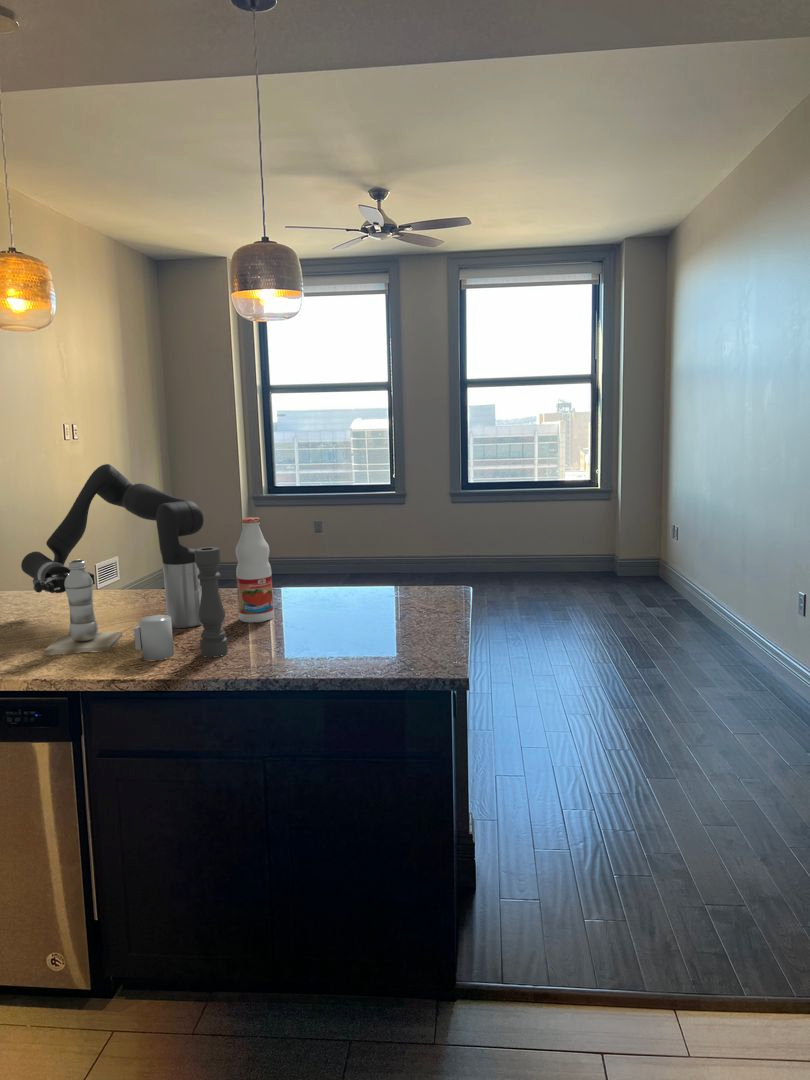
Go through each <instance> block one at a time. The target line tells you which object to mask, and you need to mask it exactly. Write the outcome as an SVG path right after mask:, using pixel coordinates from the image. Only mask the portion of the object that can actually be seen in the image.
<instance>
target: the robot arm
mask: <svg viewBox="0 0 810 1080" xmlns="http://www.w3.org/2000/svg"><path fill="white" fill-rule="evenodd" d="M96 495H97V496H99V497H100V498H101V499H102V500H103V501H105V502H107V503H108V504H111V505H113V506H117V507H121V508H124V509H125V510H126V511H128V512H129V513H131V514H133V515H135V516H137V517H138V518H141V519H144V520H147V521H155V523H156V528H157V536H158V542H159V543H158V545H159V552H160V554H161V555H160V556H161V560H162V569H163V585H164V595H165V596H164V598H165V606H166V607H165V608H166V609H165V610H166V615H167V616H170V617H171V623H172V629H173V628H175V629H178V628H180V629H182V628H183V629H185V628H190V627H195V626H203V624H202V623H201V622H200V620H199V616H198V614H199V608H200V601H201V595H202V589H201V581H200V579H198V574H200V571H199V569H198V568H197V564H196V563H195V548H192V547H187V546H184V545H182V544H180V539H179V537H184V536H185V537H186V536H192V535H194V534H197V533H198V532H200V530H201V529H202V527H203V525H204V514H203V512H202V510H201V508H200V507H199V506H198V505H197V504H196V502H194V501H191V500H187V499H184V498H183V499H182V498H178V497H176V496H173V495H171V494H168V493H166V492H163V491H162V490H159V489H157V488H155V487H153V486H151V485H148V484H145V483H134V484H133V483H132V482H131V481H129V479H128V478H127V477H125V476H124V475H123V474H122V473H121V472H120V471H119V470H118V469H117V468H115V467H114V466H112V465H111V464H108V463H104V464H102V465H100V466H98V467H97V468H96V469H95V470H94V471H93V472H92V473H91V474H90V475H89V477H88V479H87V481H86V482H85V484H84V486H83V487H82V488H81V490H80V492H79V493H78V495H77V497H76V499H75V500H74V502H73V504H72V506H71V507H70V510H69V511H68V513H67V514H66V516H65V517H64V519H63V520H62V521H61V522H60V523H59V525H58V527H57V528H56V529H55V530H54V532H52V534H51V535H50V536H49V538H47V541H46V546H47V547H48V549H49V550H50V551H51V552H52V553H53V556H54V557H53V560H52V559H50V558H49V557H48V556H46V555H45V554H43V553H42V552H40V551H31V552H29V553H28V554H26V555H25V556H24V557H23V559H22V561H21V564H20V567H21V570H22V572H23V573H24V574H26V575H28V576H29V577H31V578H32V587H33V590H34V591H35V593H39V594H40V593H42V591H44V592H46V593H50V594H62V593H66V589H65V585H64V583H65V579H66V577H67V576H68V574H69V573H70V570H69V566H66V565H65V563H66V561H67V559H68V557H69V555H70V553H71V552H72V551H73V549H74V548H75V547H76V546H77V545H78V543H79V542H80V541H81V539H82V538H83V536H84V534H85V532H86V528H87V523H88V516H89V510H90V506H91V504H92V501H93V500H94V498H95V497H96ZM86 572H87V573H88V574H89V575H90V576H91V578H92V580H93V586H94V585H95V584H96V583H95V582H96V581H95V574H94V573H91V572H88V571H86Z"/></svg>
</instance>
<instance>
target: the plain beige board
mask: <svg viewBox="0 0 810 1080" xmlns="http://www.w3.org/2000/svg"><path fill="white" fill-rule="evenodd" d="M123 636H124V635H123V631H111V632H98V635H97V637H96V638H94V639H92V640H88V641H74V640H73V639H72V638H71V636H70V634H62V635H60V636H59V637H57V638H56V639H55V640H54V641H53V642H52V643H50V645H49V646H47V647H46V648H45V649H44V650H43V653H44V655H43V656H52V655H51V654H58V655H64V654H63V653H74V654H78V653H77V652H90V653H93V652H92V651H105V652H111V651H112V649H113V648H114V647H115V646H116V645H115V644H117V643H118V642H119V641H120V640H121V639H122V638H123ZM120 638H121V639H120ZM119 639H120V640H119ZM118 640H119V641H118ZM114 645H115V646H114ZM113 646H114V647H113ZM110 650H111V651H110Z"/></svg>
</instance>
